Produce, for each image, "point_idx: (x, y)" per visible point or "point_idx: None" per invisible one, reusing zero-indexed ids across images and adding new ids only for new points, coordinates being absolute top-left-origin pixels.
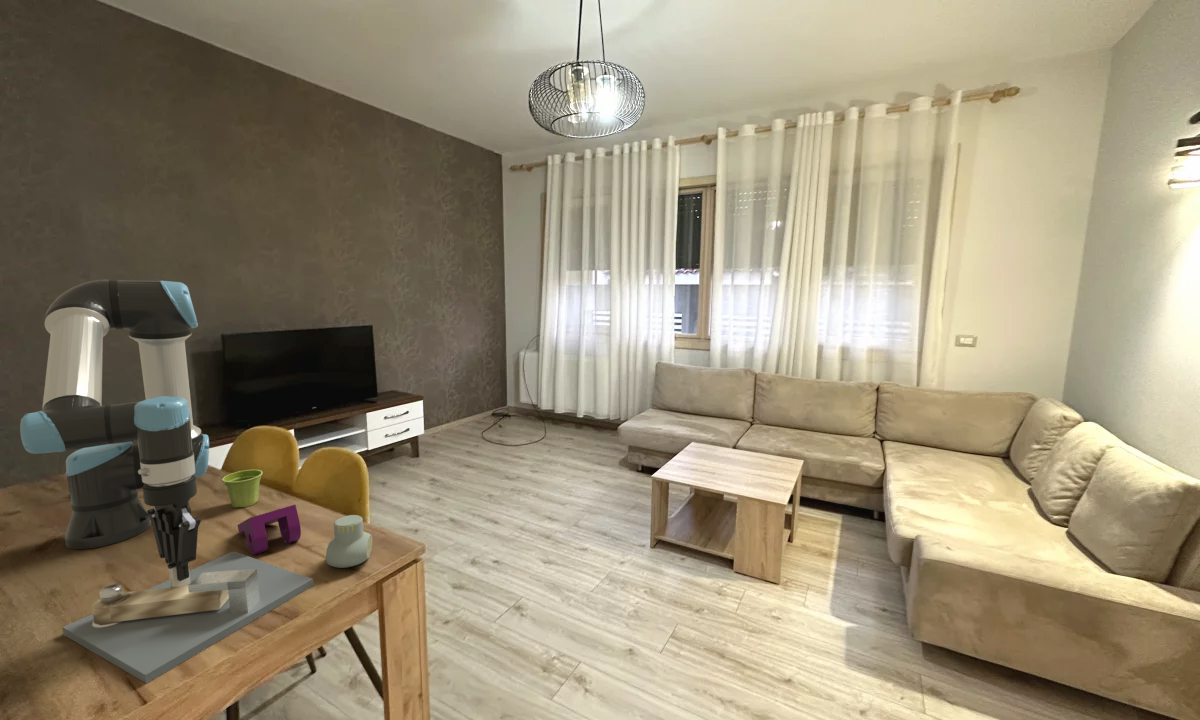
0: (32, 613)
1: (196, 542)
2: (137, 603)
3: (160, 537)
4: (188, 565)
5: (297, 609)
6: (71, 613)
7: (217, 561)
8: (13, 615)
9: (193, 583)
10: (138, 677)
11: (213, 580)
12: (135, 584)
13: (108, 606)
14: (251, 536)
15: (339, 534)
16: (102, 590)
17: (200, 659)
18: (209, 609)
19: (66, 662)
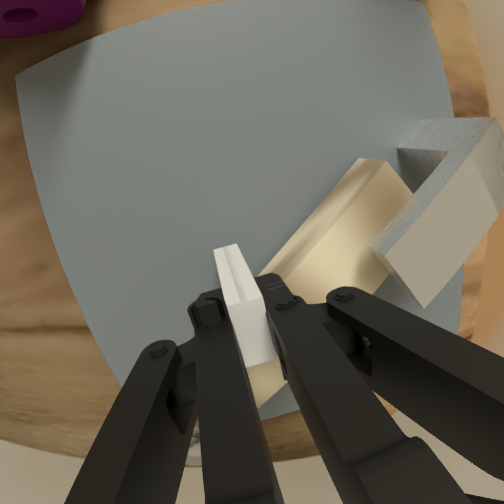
0: (37, 435)
1: (450, 334)
2: (277, 388)
3: (171, 484)
4: (254, 284)
5: (470, 87)
6: (72, 410)
7: (43, 126)
8: (30, 445)
9: (429, 294)
10: None
11: (463, 241)
12: (9, 314)
13: None
14: (31, 4)
15: None
16: (192, 462)
17: (466, 268)
18: None
19: (272, 426)
